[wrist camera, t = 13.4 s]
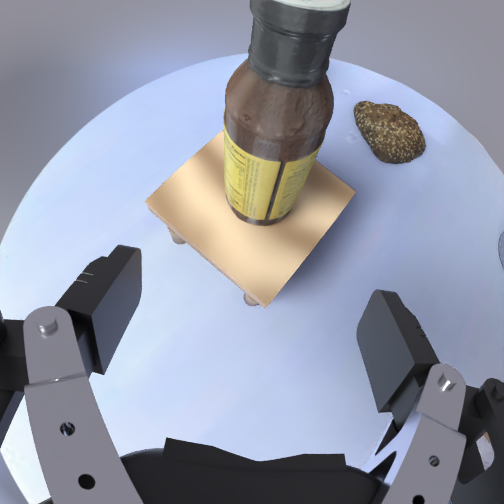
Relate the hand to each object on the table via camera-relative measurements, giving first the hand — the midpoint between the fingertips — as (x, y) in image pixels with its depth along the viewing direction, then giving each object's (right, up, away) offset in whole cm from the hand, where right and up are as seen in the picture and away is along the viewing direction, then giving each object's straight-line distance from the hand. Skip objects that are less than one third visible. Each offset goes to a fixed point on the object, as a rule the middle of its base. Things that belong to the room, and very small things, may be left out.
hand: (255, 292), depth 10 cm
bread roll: (+22, +21, +35) cm, 46 cm away
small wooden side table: (-1, +4, +27) cm, 27 cm away
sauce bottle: (0, +6, +18) cm, 19 cm away
